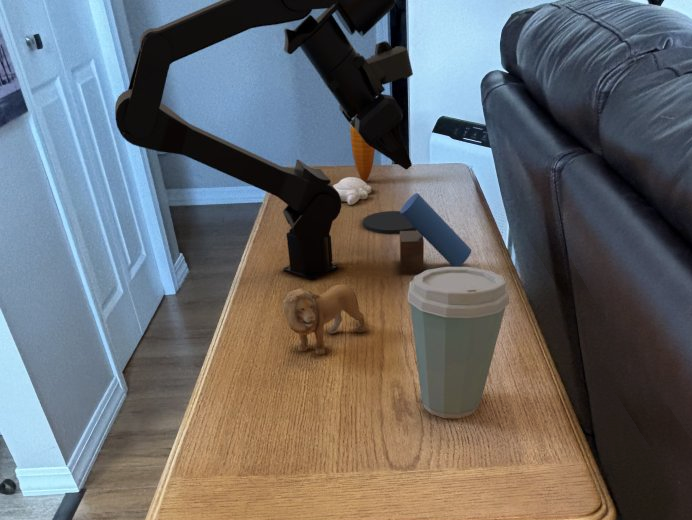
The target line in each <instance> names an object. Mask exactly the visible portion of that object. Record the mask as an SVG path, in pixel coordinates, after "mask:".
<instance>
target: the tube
mask: <svg viewBox="0 0 692 520" xmlns="http://www.w3.org/2000/svg"><path fill="white" fill-rule="evenodd" d="M400 213H401V214H402V215H403V216H404V217H405V218H406V219H407V220H408V221H409V223H410V224H411V225H412V226H413V227H414V228H415V229H416V230H415V231H418V232H419V233H420V234H421V235H422V236H423V239H425V240H426V241H427V242H428V243H429V245H431V246H432V247H433V248H434V249H435V250H436V251H437V252H438V253H439V255H441V256H442V257H443V259H445V260H446V261H447V262H448V263H449V264H450V266H451V267H462V265H464V263H465V262H466V261H467V260H468V259H469V257H470V256H471V254H472V248H471V247H470V246H469V245H468V244H467V243H466V242H465V241H464V240H463V239H462V238H461V237H460V236H459V234H457V233H456V232H455V231H454V229H452V227H450V225H449V224H448V223H447V222H446V221H445V220H444V219H443V218H442V217H441V215H439V213H437V212H436V211H435V210H434V208H433V207H431V205H430V204H429V203H428V202H427V201H426V199H424V198H423V197H422V196H421V195H420V193H418V192H415V193H413V195H411V196H410V197H409V198H408V199H407V200H406V202H404V204H403V206H402V207H401V209H400Z"/></svg>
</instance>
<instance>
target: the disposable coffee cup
mask: <svg viewBox="0 0 692 520" xmlns="http://www.w3.org/2000/svg"><path fill="white" fill-rule="evenodd" d="M408 285H409V286H408V287H409V288H408V290H407V302H408V303H409V306H410V316H411V324H412V331H413V340H414V349H415V356H416V365H417V373H418V382H419V388H420V391H419V392H420V399H421V403H422V404H423V408H424V409H425V410H426V411H427V412H429V414H431V415H434V416H436V417H440V418H443V419H462V418H466V417H468V416H471V415H473V414H474V413H475V412H476V411H477V410H478V407H479V405H480V404H481V403H482V399H483V395H484V392H485V387H486V383H487V380H488V376H489V372H490V368H491V365H492V361H493V356H494V354H495V349H496V345H497V341H498V337H499V335H500V330H501V326H502V323H503V318H504V315H505V312H506V307H508V306H509V305H510V292H509V287H508V285H507V283H506V281H505V278H504V276H503V275H500V274H498V273H496V272H493V271H491V270H487V269H482V268H478V267H471V266H459V267H453V266H442V267H437V268H431V269H426V270H423V272H422V273H420V274H417V275H416V274H415V276H414V277H413V279H412V280H411V281H410V282H409V284H408Z"/></svg>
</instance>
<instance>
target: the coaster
mask: <svg viewBox="0 0 692 520" xmlns="http://www.w3.org/2000/svg"><path fill="white" fill-rule="evenodd" d="M400 211H401V210H400ZM400 211H399V210H391V211H390V210H387V211H380V212H375V213H372V214H369V215H367V216H365V217H364V218H363V220H362V225H363V227H364V228H365V229H367V230H369V231H371V232H374V233H379V234H381V233H382V234H400V231H417V230H416V229H415V228H414V227H413V226H412V225H411V224H410V223H409V221H408V220H407V219H406V218H405V217H404V216H403V215H402V214H401V213H400Z"/></svg>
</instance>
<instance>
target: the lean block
mask: <svg viewBox="0 0 692 520" xmlns="http://www.w3.org/2000/svg"><path fill="white" fill-rule="evenodd" d="M424 243H425V241H424V237H423V236H422V235H421V234H420V233H419V232H418V231H417V230H414V231H400V233H399V265H400V274H401V275H416V274H417V275H418V274H420V273H422V272H424V261H425V260H424V255H425V253H424V251H425V244H424Z"/></svg>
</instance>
